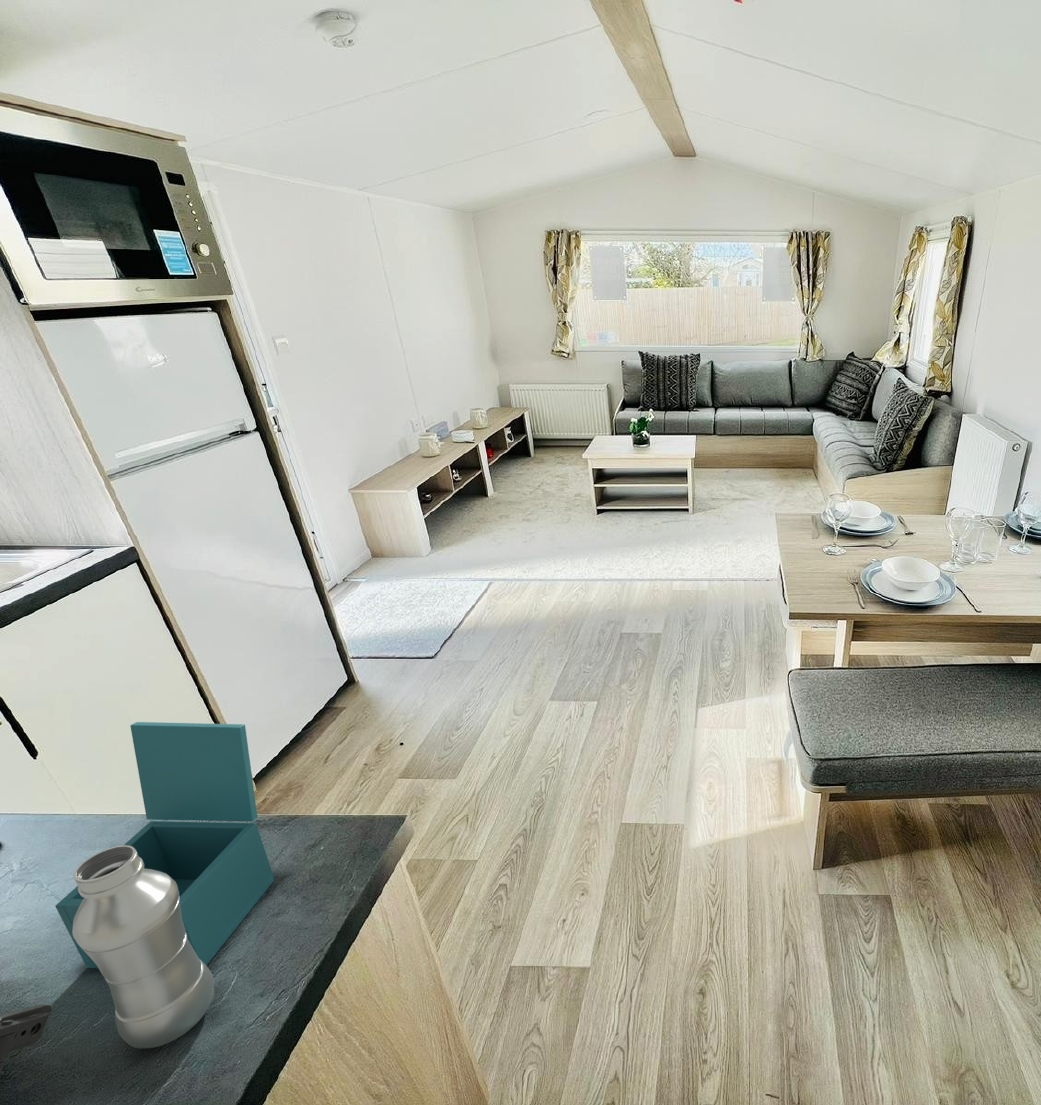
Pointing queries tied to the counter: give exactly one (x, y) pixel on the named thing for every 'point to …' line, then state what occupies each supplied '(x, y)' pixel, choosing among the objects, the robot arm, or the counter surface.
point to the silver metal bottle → (140, 947)
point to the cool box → (199, 877)
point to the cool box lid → (194, 771)
